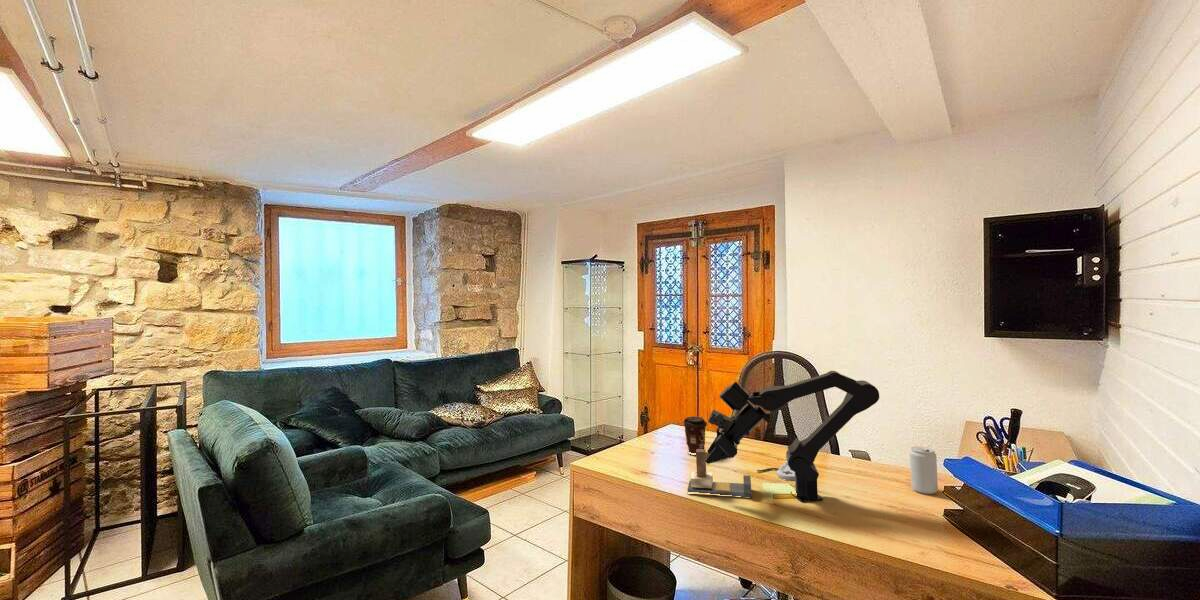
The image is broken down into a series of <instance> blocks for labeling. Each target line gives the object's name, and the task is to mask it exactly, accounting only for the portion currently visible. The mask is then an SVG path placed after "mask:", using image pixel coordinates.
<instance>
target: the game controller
mask: <svg viewBox="0 0 1200 600" xmlns="http://www.w3.org/2000/svg"><path fill="white" fill-rule="evenodd" d="M772 469H775V470H774V471H776V477H777V476H778V477H779V478H778V477H777V478H778V479H780V478H781V479H780V480H783V479H785V480H784V481H789V480H792V481H795V472H794V471H792V470H791V469H790V467H789V465H788V462H787V461H786V462H783V463H782V464H781V465H780V467H779V468H778V467H770V468H769V467H768V468H765V469H757V470H756V472H757V471H763V472H766V470H768V471H773V470H772Z"/></svg>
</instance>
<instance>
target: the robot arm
mask: <svg viewBox="0 0 1200 600" xmlns="http://www.w3.org/2000/svg"><path fill="white" fill-rule="evenodd" d="M832 388H837V389H839V390H841V391H843V392H845V393H846V394H845V396H844V398H843V401H842V402H841V403H840V405H839V406H837V408H836V409H834V410H833V411H832V412H831V413H830V414H829V416H827V417H826V419H824V420H823V422H822V423H820V425H819V426H818V427H816V429H815V430H814V431H813V432H812V433H811V434H810V435H808V437H806V438H804V439H802V440H800V439H799V438H798V437H796V438H794V440H793V442H792V443H791V444H790V445H787V451H786V452H785V459H786V462H788V465H789V467H790V469H791V470H792V471H794V472H795V480H794V482H795V483H794V486H795V487H794V488H795V489H794V491H796V493H797V496H796V497H795V498H796V499H798V501H800V503H801V502H802V503H804V502H817V501H824V498H823V497H822V496H821V495H819V494H818V491H819V490H818V478H819V475H820V474H819V472H818V470H817V467H816V464H815V463H814V462H815V460H816V458H817V456H818V453H819V452H820V450H822V448H823V447H824V446H826V444H828V443H829V442H830V440H831V439H832V438H833V437H834V436H835V435H836V434H837V433H838V432H840V430H841V429H842V428H844V427H845V426H846V424H847V423H848V422H850V420H851V419H853V418H854V417H855V416H856V415H858V414H861V412H864V411H866V410H868V409H869V408H871V407H873V405H875V404H876V403H878V401H879V399H880V391H879V389H878V388H877V387H876V386H875V385H873V384H872V383H870V382H868V381H867V380H863V379H862V380H856V379H853V378H851V377H848V376H846V375H843V374H841V373H839V372H838V371H836V370H830V371H828V372H826V373H822V374H820V375H816V376H813V377H810V378H807V379H803V380H800V381H797V382H794V383H790V384H787V385H774V386H768V387H767V386H766V387H763V388H762V389H760V390H759V391H752V392H751V391H750V392H747V391H746V390H745V389H744V388H743V387H742V386H741V384H740V383H738V381H736V380H735V381H734V382H733V383H731V384H730V385H728V386H727V387H725V388H724V390H722V392H721V393H720V394H719V396H718V397H719V398H720V399H721V400H722V401H723V402H724V403H725V404H726V406H728V407H729V408H730V409H731V411H739V412H738V413H737V415H732V416H731V417H729V416H727V415H726V414H724V413H723V412H720V411H717V410H715V409H712V410H711V413H710V415H709V417H708V420H707V422H708V423H709V424H711V425H714V426H716V427H717V428H716V437H714V439H713V441H712V443H711V444H710V446H709V448H708V449H707V450H706V451H707V453H708V454H709V455H708V457H706V465H709V464H712V463H716V462H719V461H723V460H725V459H726V460H727V459H733V458H735V456H737V454H738V446H739V445H740V443H741V440H743V439H744V438H745V437H746V436H747V437H748V436H749V435H750V434H751V431H752V430H753V429H755V427H757V425H758V424H760V423H761V421H763V420H764V421H765V422H766V423H767V424H771V412H773V411H776V410H777V409H780V408H781V407H784V406H785V405H787V404H788V403H790V402H792V401H794V400H796V399H799V398H803V397H805V396H809V395H813V394H815V393H819V392H821V391H825V390H829V389H832Z"/></svg>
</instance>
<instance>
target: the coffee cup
mask: <svg viewBox="0 0 1200 600" xmlns="http://www.w3.org/2000/svg"><path fill="white" fill-rule="evenodd" d="M683 426H684V432H685V442H686V445H687V448H688V450H689V452H691V453H696V450H697V449H705V445H706V427H707V426H708V424H707V422H706V420H705V419H704V418H703V417H701V416H694V415H693V416H687V417H685V418H684V421H683Z"/></svg>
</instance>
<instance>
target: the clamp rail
mask: <svg viewBox="0 0 1200 600" xmlns="http://www.w3.org/2000/svg"><path fill="white" fill-rule="evenodd" d="M751 479H752V478H751V475H745V474H744V475H743V483H740V482H739V483H737V482H724V481H723V482H721V481H720V482H719V481H713V483H712V488H698V487H691V480H689V481H688V485H687V493H688V492H699V493H710V494H720V495H732V496H741V497H750V498H749V499H753V498H752V480H751Z"/></svg>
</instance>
